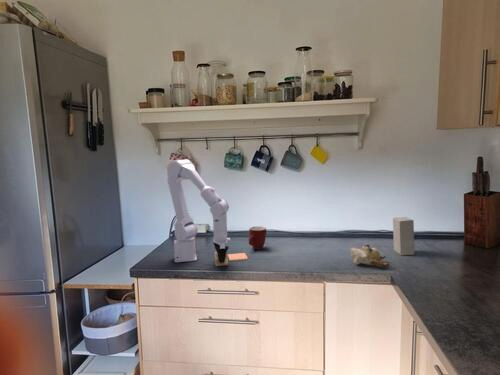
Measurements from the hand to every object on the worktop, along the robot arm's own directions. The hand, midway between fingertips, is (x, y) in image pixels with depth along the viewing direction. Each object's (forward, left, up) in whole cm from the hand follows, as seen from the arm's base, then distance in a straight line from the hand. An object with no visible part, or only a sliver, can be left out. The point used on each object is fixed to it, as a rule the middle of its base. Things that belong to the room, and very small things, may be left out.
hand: (221, 260), depth 153 cm
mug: (+19, +16, -2) cm, 25 cm away
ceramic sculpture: (+59, -16, -2) cm, 61 cm away
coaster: (+8, +6, -1) cm, 10 cm away
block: (0, 0, -1) cm, 1 cm away
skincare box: (+82, -6, -2) cm, 82 cm away
